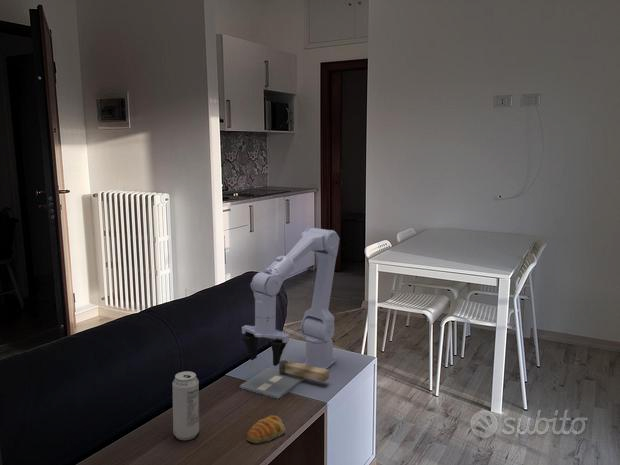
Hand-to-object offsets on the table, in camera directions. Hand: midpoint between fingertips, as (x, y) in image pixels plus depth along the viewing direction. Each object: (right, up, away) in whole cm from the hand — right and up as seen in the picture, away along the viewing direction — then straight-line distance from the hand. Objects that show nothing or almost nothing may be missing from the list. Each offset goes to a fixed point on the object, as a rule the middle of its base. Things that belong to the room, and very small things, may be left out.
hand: (264, 361), depth 149 cm
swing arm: (+11, -6, +8) cm, 14 cm away
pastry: (+2, -13, -22) cm, 25 cm away
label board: (+2, -8, +5) cm, 10 cm away
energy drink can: (-17, -12, -23) cm, 31 cm away
